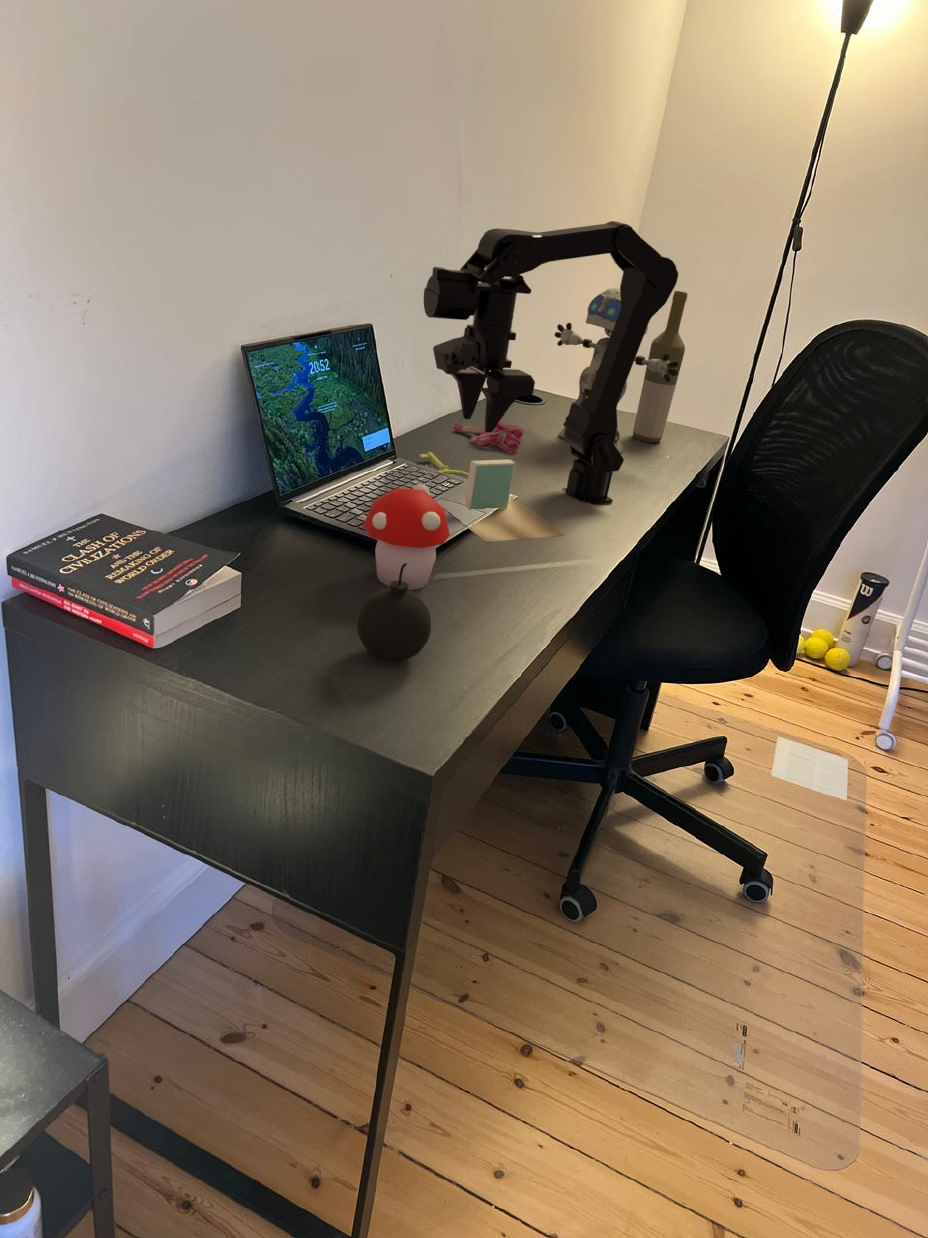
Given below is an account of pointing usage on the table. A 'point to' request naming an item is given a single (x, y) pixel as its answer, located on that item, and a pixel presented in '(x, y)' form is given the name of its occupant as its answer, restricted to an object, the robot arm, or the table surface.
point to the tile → (489, 484)
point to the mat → (513, 525)
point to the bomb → (394, 623)
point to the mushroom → (406, 534)
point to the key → (440, 464)
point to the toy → (495, 436)
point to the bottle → (655, 387)
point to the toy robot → (605, 316)
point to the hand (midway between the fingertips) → (477, 425)
